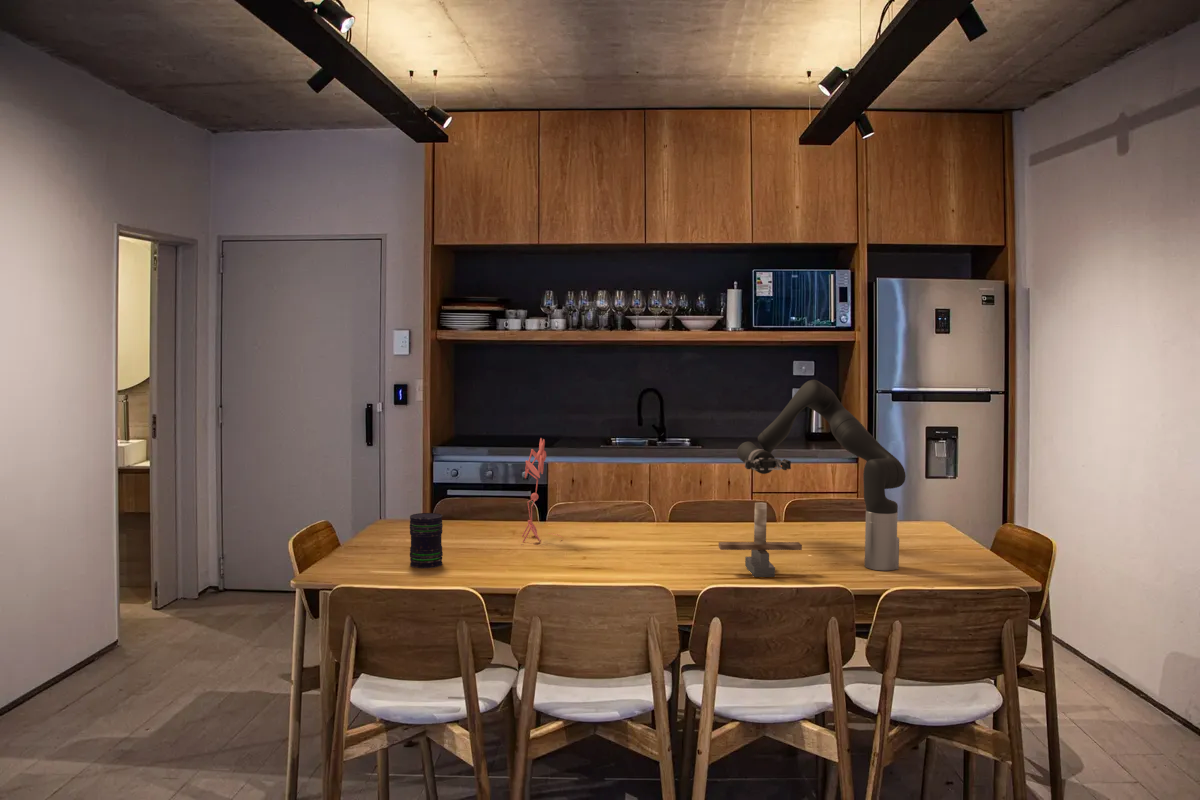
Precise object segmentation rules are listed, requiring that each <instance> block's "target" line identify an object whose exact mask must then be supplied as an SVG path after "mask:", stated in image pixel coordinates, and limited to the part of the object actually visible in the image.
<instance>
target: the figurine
mask: <svg viewBox="0 0 1200 800" xmlns="http://www.w3.org/2000/svg"><path fill="white" fill-rule="evenodd" d="M538 445H539V446H538V451H537V452H536V451H535V449H533V448H531V449H530V454H529V458H528V460H527V459H526V460H525V468H524V471H525V472H524V479H527V476H528V474H529V475H530V476H532V477H533V478H534V479H535V480H536V485H535V492H533V493H531V495H530V500H528V501H527V507H528V509H527V510H528V516H529V519H527V525H526V528H525V529H524V531H523V533H522V535H521V537H522V538H523V537H524V538H523V539H522V542H523V543H525V541H526V539H527V537H528V536H529V533H530V532H532V533H533V535H534V536H535V538H536V539H537V541H539V543H542V541H541V539H540V536H539V535H538V529H537V526H536V525H535V524H534V522H533V506H534V504H535V502H536V501H538V499H539V494H538V493H537V491H538V483H539V479H540V478H541V475H543V474H544V467H545V466H544V465H545V464H544V463H545V461H546V459H547V451H546V450H545V445H546V441H545V439H544V438H542V437H540V439H539V444H538ZM532 456H533V457H534V459H533V461H532V462H531V459H532ZM536 461H537V462H538V465H537V467H538V469H537V468H536V467H535V465H534V463H535V462H536ZM540 474H541V475H540ZM531 501H533V502H532V504H531V506H530V502H531ZM548 534H550V535H554V536H558V537H560V538H562V536H561V535H560V534H555V533H550V532H548ZM559 541H560V543H561V542H562V540H559ZM523 543H522V544H520V545H521V546H523Z"/></svg>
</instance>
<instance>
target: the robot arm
mask: <svg viewBox="0 0 1200 800" xmlns="http://www.w3.org/2000/svg"><path fill="white" fill-rule="evenodd" d="M806 408H809V409H811V410H813V411H814V412H816V413H818V415H820V416H822V417H823V419H824V420H825V421H826V422H827V423H828V424H829V427H830V431H831V434H832V435H833V437H834V438H835V440H836V441H837V442H838V443H839V444H840V446H841V447H842V448H843V449H844V450H846V451H847V452H848V453H851V454H852V455H854V456H856V457H859V458H860V459H862V460H864V461H866V463H865V465H864V468H863V472H862V473H863V474H862V475H863V477H862V478H863V480H862V481H863V499H864V504H865V526H864V527H865V536H864V567H865V568H867V569H869V570H874V571H875V570H876V571H894V570H899V567H900V564H899V563H900V538H899V537H898V512H899V511H898V509H899V508H898V506H899V505H898V503H897V502H896V501H894V500H892V499H889V498H887V496H886V491H885V490H888V489H889V490H890V489H897V488H899V487H901V486H903V485H904V483H905V482H906V476H907V475H906V471H905V468H904V466H903V464H902V463H901V461H900V460H899V459H898V458H897V457H896V456H894V455H893V454H892V453H891V452H890V451H888V450H887V449H886V448H885V447H884V446H883V445H882V444H880V443H879V442H878V440H876V438H875V437H873V435H872V434H871V433H870V432H869V431H868V430H867V428H866V427H865V426H864V425H863V424H862V423H861V422H860V421H859V420H858V419H857V417H855V416H854V414H852V413H851V412H850V411H849V410H848V409H846V407H845V406H844V405H843V404H842V402H841V401H840V400H839V398H838V397H837V395H836V394H835V392H834V391H833V390H832V389H831V388H830V387H829V386H827V385H825V384H823V383H822V382H821V381H818V380H816V379H810V380H808V381H806V382H805V383H803V384H802V385H801V387H799V389H798V390H797V391H796V392H795V394H794V395H793V397H792V398H791V399H790V400H789V402H788V403H787V404H786V405H785V407H784V408H783V409H782V411H781V412H780V413H779V414H778V416H777V417H776V418H775V419H774V420H773V421H772V422H771V423H770V424H769V425H768V426H767V427H765V429H764V430H762V432H760V433H759V435H758V436H757V440H758V442H759V444H760V446H761V447H762V448H763V449H761V448H759V447H757V446H756V445H755V444H754V443H753V442H752V441H745V442H742V443H741V444H740V445H739V446H738V447H737V450H736V456H737V457H738V459H739V460H740V461H742V462H743V463H744V468H745V469H746V470H752V471H755V472H757V473H758V474H761V475H767V474H770V473H771V472H772V471H773V470H775V471H780V470H782V471H787V470H791V469H792V467H791V466H792V462H791V460H788V459H786V458H783V459H782V460H781V459H780V458H775V456H774V455H773V454H772V452H774V450H775V448H777V447H778V446H779V445H780V444H781V443H782V442H783V441H784V440H785V439H787V437H788V436H789V434H790V432H791V430H792V428H793V425H794V422H795V420H796V418H797V416H798V415H799V414H800V413H801V412H802V411H803V410H804V409H806Z"/></svg>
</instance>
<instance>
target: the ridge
mask: <svg viewBox="0 0 1200 800" xmlns="http://www.w3.org/2000/svg"><path fill="white" fill-rule="evenodd" d="M750 553H751V556H744V557H745V561H744V562H745V564H744V567H745V566H746V567H747V568H746V567H745V568H746V570H748V572H749V571H750V572H751V573H752V574H751V573H750V572H749V573H750V574H751V576H752V577H753V576H754V577H775V578H776V567H775V566H774V565H773V563H771V562H770V553H769V552H768V550H751V552H750ZM754 577H753V578H754Z"/></svg>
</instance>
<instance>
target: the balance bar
mask: <svg viewBox="0 0 1200 800" xmlns="http://www.w3.org/2000/svg"><path fill="white" fill-rule="evenodd" d="M767 504H768V503H767V502H762V501H761V502H754V517H753V519H754V521H753V523H754V525H753V529H754V530H753V531H754V532H753V541H719V542H718V548H719V550H721V551H750V550H766V551H802V550H803V545H802V544H801V543H800V542H799V541H792V542H790V541H784V542H783V541H767V509H768V506H767Z"/></svg>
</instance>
